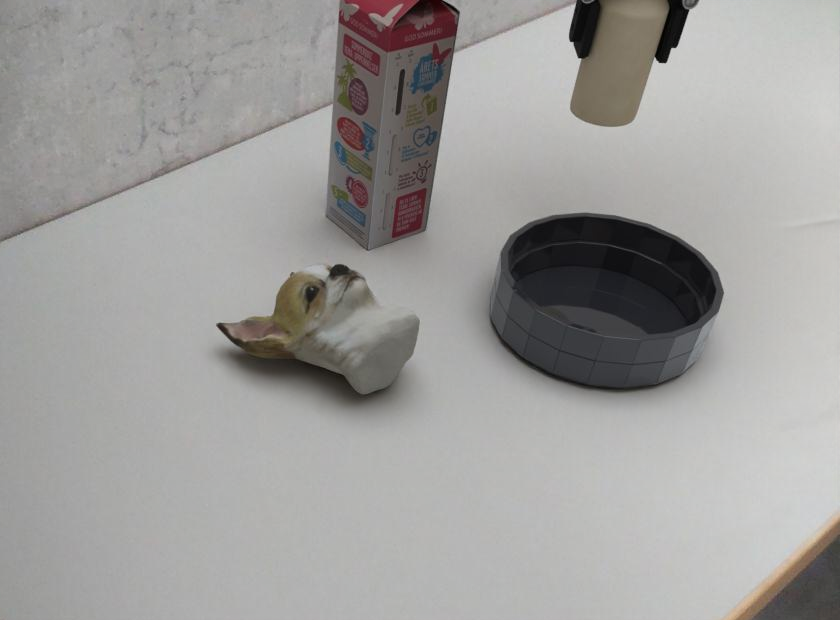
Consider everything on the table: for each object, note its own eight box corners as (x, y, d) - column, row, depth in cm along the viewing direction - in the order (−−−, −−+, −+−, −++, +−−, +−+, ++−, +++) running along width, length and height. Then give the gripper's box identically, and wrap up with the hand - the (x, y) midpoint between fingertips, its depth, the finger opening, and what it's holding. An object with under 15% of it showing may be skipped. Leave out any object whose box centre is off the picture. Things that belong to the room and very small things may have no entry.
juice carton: (382, 196, 90) (412, -66, 74) (426, 230, 87) (467, -38, 70) (325, 215, 88) (342, -53, 71) (367, 250, 84) (396, -23, 68)
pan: (602, 245, 86) (618, 194, 82) (745, 352, 77) (770, 300, 73) (448, 295, 80) (457, 243, 76) (581, 418, 71) (600, 365, 67)
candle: (557, 100, 80) (589, -30, 73) (614, 94, 81) (651, -35, 74) (589, 131, 77) (626, -3, 69) (648, 123, 78) (691, -9, 71)
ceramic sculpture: (375, 334, 62) (204, 260, 68) (369, 436, 68) (212, 360, 74) (461, 266, 68) (296, 203, 74) (448, 366, 74) (296, 300, 80)
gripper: (577, -229, 59) (516, 68, 73) (850, -213, 59) (738, 81, 73) (561, -255, 64) (506, 28, 78) (813, -240, 64) (715, 40, 78)
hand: (619, 51), depth 75 cm, fingers closed on candle, 5 cm apart
